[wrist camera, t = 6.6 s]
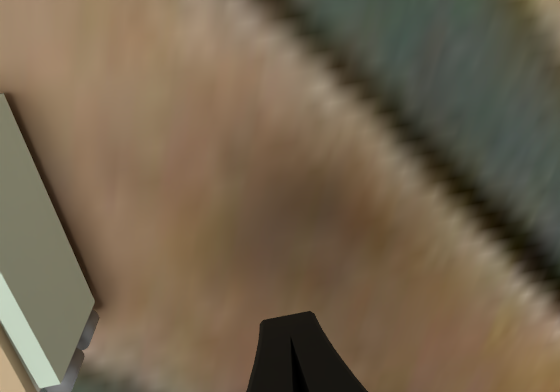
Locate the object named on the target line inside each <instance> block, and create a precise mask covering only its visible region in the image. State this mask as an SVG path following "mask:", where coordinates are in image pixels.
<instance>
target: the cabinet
mask: <svg viewBox="0 0 560 392" xmlns="http://www.w3.org/2000/svg"><path fill="white" fill-rule="evenodd" d="M40 390H41V388H39V387H38V385H37V383H36V381H35V380H34V378H33V376H32V374H31V373H30V371H29V369H28V367H27V366H26V364H25V362H24V361H23V359H22V357H21V355H20V354H19V352H18V350H17V348H16V347H15V345H14V343H13V341H12V340H11V338H10V336H9V334H8V333H7V331H6V329H5V327H4V326H3V324H2V322H1V320H0V392H40Z"/></svg>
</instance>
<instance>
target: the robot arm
mask: <svg viewBox="0 0 560 392" xmlns="http://www.w3.org/2000/svg"><path fill="white" fill-rule="evenodd" d="M246 392H368V391H367V390H366V389H365V388H364V387H363V385H362V384H361V383H360V382H359V381H358V379H357V378H356V377H355V376H354V374H353V373H352V372H351V370H350V369H349V368H348V366H347V365H346V364H345V363H344V361H343V360H342V359H341V357H340V356H339V354H338V353H337V352H336V350H335V349H334V347H333V346H332V344H331V343H330V341H329V340H328V338H327V336H326V335H325V333H324V332H323V330H322V328H321V326H320V324H319V322H318V320H317V318H316V316H315V314H314V313H312V312H311V311H307V312H302V313H297V314H292V315H287V316H282V317H276V318H271V319H266V320H263V321H262V322H261V324H260V331H259V340H258V346H257V352H256V356H255V361H254V365H253V369H252V373H251V377H250V380H249V384H248V388H247V391H246Z"/></svg>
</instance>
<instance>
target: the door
mask: <svg viewBox="0 0 560 392" xmlns="http://www.w3.org/2000/svg"><path fill="white" fill-rule="evenodd" d="M94 303H95V301H94V298H93V296H92V294H91V292H90V289H89V287H88V285H87V282H86V280H85V278H84V276H83V273H82V271H81V269H80V266H79V264H78V262H77V260H76V257H75V255H74V253H73V250H72V248H71V246H70V244H69V241H68V239H67V237H66V235H65V232H64V230H63V228H62V225H61V223H60V221H59V219H58V216H57V214H56V212H55V209H54V207H53V205H52V203H51V200H50V198H49V196H48V194H47V191H46V189H45V187H44V184H43V182H42V180H41V178H40V175H39V173H38V171H37V168H36V166H35V164H34V162H33V159H32V157H31V155H30V152H29V150H28V148H27V146H26V143H25V141H24V139H23V137H22V134H21V132H20V130H19V127H18V125H17V123H16V121H15V118H14V116H13V114H12V111H11V109H10V107H9V105H8V102H7V100H6V98H5V96H4V93H3V94H0V320H1V322H2V324H3V326H4V327H5V329H6V331H7V333H8V334H9V336H10V338H11V340H12V341H13V343H14V345H15V347H16V348H17V350H18V352H19V354H20V355H21V357H22V359H23V361H24V362H25V364H26V366H27V367H28V369H29V371H30V373H31V374H32V376H33V378H34V380H35V381H36V383H37V385H38V387H39V388H44V387H45V388H46V390H47V391H48V392H71V391H72V388H73V386H74V383H75V381H76V378H77V375H78V373H79V370H80V368H81V365H82V362H83V360H84V353H83V352H82V351H81V350H84V349H86V348H87V347H88V346H89V344H90V341H91V339H92V336H93V334H94V331H95V328H96V326H97V323H98V320H99V315H98V314H97V312H95V311H94V310H92V308H93V305H94Z"/></svg>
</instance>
